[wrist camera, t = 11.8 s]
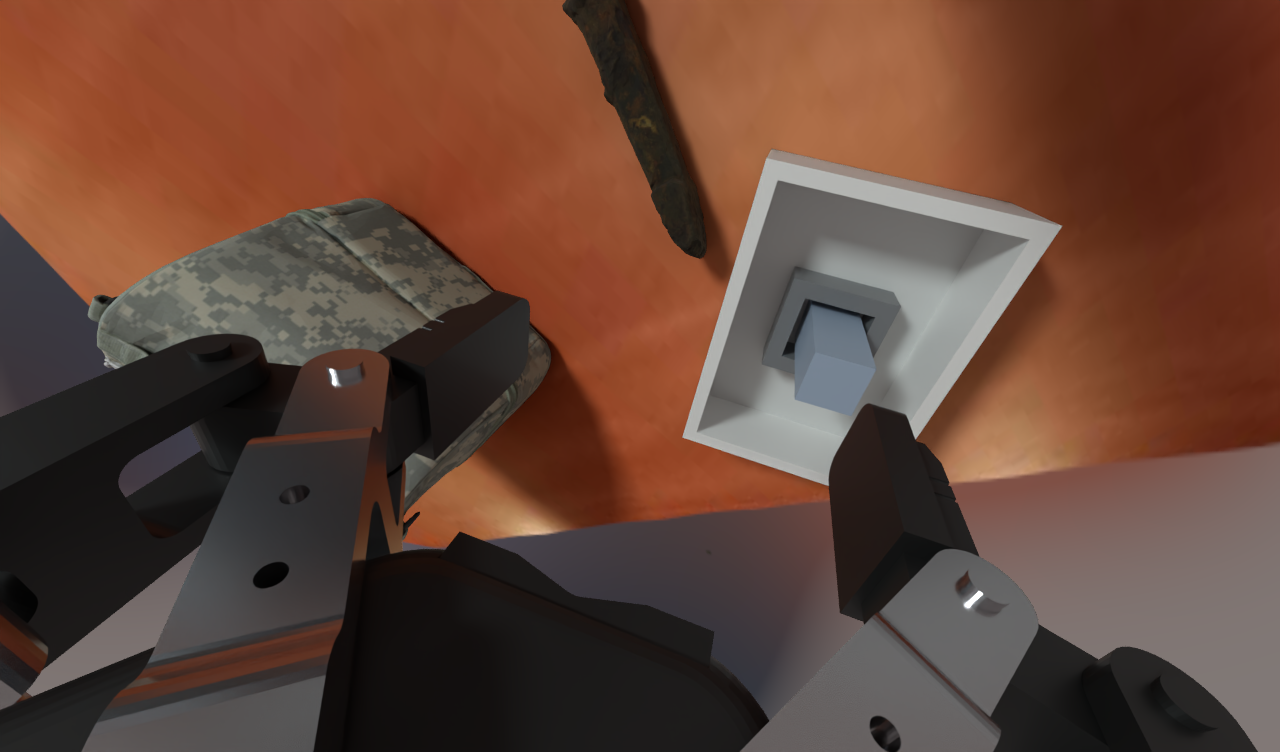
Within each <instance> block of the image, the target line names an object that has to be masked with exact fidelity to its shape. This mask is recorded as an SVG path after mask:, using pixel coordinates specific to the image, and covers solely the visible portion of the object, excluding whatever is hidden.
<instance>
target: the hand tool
mask: <svg viewBox="0 0 1280 752" xmlns="http://www.w3.org/2000/svg"><path fill="white" fill-rule="evenodd" d="M562 7H563V10H564V12H565V13H566V14H567V15H568V16H569V17H570V18H571V19H572V20H573V22H574V23H575V24H576V25H578V27H579V29H580V30H581V32H582V33H583V35H584V37H585V40H586V42H587V45H588V47H589V49H590V52H591V54H592V56H593V58H594V60H595V62H596V65H597V67H598V69H599V72H600V76H601V80H602V83H603V85H604V86H605V92H604V96H605V98H606V100H607V101H608V102H609V103H610V104H611V105H613V106H614V107H615V109H616V110H617V113H618V115H619V117H620V119H621V122H622V124H623V126H624V129H625V131H626V134H627V136H628V138H629V140H630V142H631V144H632V146H633V149H634V151H635V153H636V156H637V158H638V160H639V162H640V164H641V166H642V169H643V171H644V173H645V175H646V178H647V180H648V182H649V184H650V187H651V190H652V194H651V197H652V200H653V203H654V204H655V207H656V210H657V211H658V213H659V214H660V216H661V219H662V223H663V225H664V226H665V228H666V229H667V230H668V233H669V235H670V237H671V238H672V240H673V241H674V243H675V244H677V246H679V247H680V248H681V249H682V250H683V251H684V252H685V253H686V254H688V255H690V256H693V257H696V258H699V259H701V258H702V257H704V255H705V253H706V246H707V245H706V233H705V226H704V222H703V218H704V217H703V213H702V210H701V207H700V203H699V197H698V193H697V188H696V185H695V183H694V182H693V180H692V179H691V177H690V175H689V173H688V171H687V168H686V165H685V162H684V160H683V157H682V154H681V151H680V148H679V145H678V142H677V139H676V137H675V134H674V131H673V129H672V126H671V122H670V119H669V116H668V114H667V112H666V109H665V107H664V105H663V103H662V100H661V97H660V94H659V92H658V89H657V87H656V82H655V78H654V76H653V74H652V70H651V67H650V64H649V61H648V58H647V55H646V53H645V51H644V49H643V48H642V45H641V42H640V39H639V37H638V36H637V34H636V31H635V28H634V25H633V23H632V20H631V18H630V15H629V12H628V9H627V6H626V3H625V1H624V0H566V1H565V3H564V4H563V5H562Z"/></svg>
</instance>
